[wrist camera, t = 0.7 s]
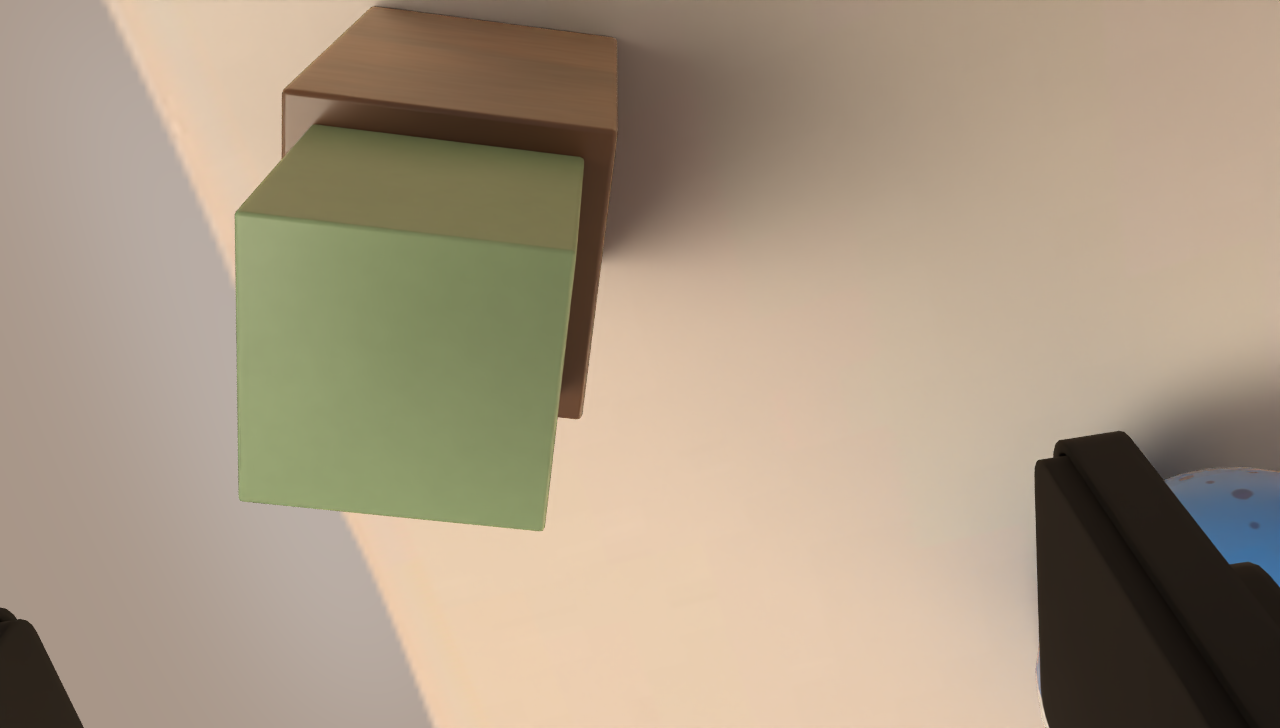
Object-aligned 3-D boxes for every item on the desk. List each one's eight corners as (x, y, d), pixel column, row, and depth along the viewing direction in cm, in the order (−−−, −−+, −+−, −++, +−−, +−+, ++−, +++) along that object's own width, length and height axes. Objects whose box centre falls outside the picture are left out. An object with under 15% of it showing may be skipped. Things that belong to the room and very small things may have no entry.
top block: (307, 367, 22) (237, 502, 18) (311, 122, 20) (233, 211, 16) (557, 394, 22) (544, 533, 18) (584, 156, 20) (577, 251, 16)
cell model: (1036, 773, 37) (1164, 1075, 28) (954, 451, 32) (1078, 699, 23) (1369, 688, 36) (1608, 977, 27) (1338, 340, 31) (1619, 558, 22)
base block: (362, 238, 29) (279, 389, 22) (370, 4, 27) (280, 88, 20) (589, 265, 30) (581, 422, 22) (617, 37, 27) (618, 131, 20)
